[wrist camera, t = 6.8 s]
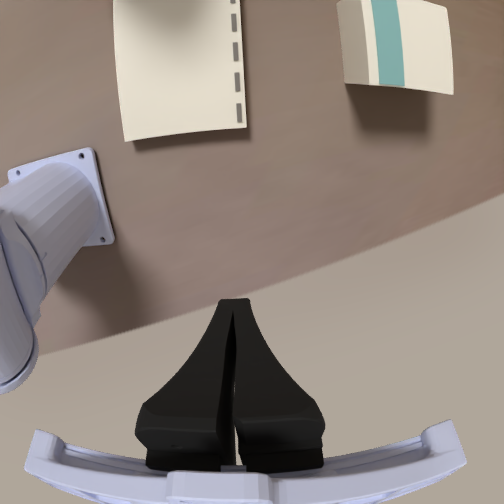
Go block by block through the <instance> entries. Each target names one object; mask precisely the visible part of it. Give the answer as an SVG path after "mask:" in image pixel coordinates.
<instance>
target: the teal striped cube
mask: <svg viewBox="0 0 504 504" xmlns="http://www.w3.org/2000/svg"><path fill="white" fill-rule="evenodd" d="M336 6H337V13H338V20H339V28H340V37H341V47H342V57H343V69H344V83H350V84H364V85H379V86H391V87H401V88H410V89H418V90H426V91H432V92H439V93H445V94H450V95H453V64H452V50H451V39H450V30H449V22H448V15H447V9H446V8H445V7H442V6H439V5H436V4H433V3H429V2H426V1H422V0H341V1H339V2H338V3H337V4H336Z"/></svg>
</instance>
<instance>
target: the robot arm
mask: <svg viewBox="0 0 504 504" xmlns="http://www.w3.org/2000/svg"><path fill="white" fill-rule="evenodd" d="M81 153H83V154H84V158H82V157H81ZM19 171H20V173H19ZM8 178H9V183H8V184H6V185H5V186H3V187H2V188H0V395H1V394H4V393H8V392H10V391H12V390H14V389H16V388H17V387H18V386H20V385H21V384H22V383H23V382H24V381H25V380H26V379H27V378H28V377H29V375H30V374H31V372H32V370H33V369H34V367H35V364H36V361H37V358H38V352H39V345H38V339H37V336H36V334H35V331H34V329H33V328H34V326H35V325H36V323H37V321H38V320H39V318H40V316H41V313H40V305H41V303H42V301H43V300H44V298H45V297H46V295H47V294H48V292H49V291H50V289H51V288H52V286H53V285H54V284H55V282H56V281H57V279H58V278H59V277H60V275H61V274H62V272H63V271H64V270H65V268H66V267H67V265H68V264H69V263H70V261H71V260H72V259H73V257H74V256H75V255H76V254H77V252H78V251H79V250H80V248H81V247H83V246H96V245H109V244H112V243H113V242H114V240H115V237H114V233H113V229H112V226H111V222H110V218H109V215H108V211H107V207H106V203H105V199H104V195H103V190H102V186H101V182H100V177H99V172H98V168H97V163H96V158H95V153H94V150H93V149H92V148H90V147H88V148H83V149H79V150H75V151H71V152H67V153H63V154H59V155H55V156H52V157H48V158H45V159H41V160H38V161H34V162H31V163H28V164H25V165H22V166H18V167H15V168H12V169H10V170H9V171H8ZM102 237H104V238H105V240H103V239H102ZM234 387H235V392H234ZM235 427H236V431H237V436H238V453H239V455H240V458H241V461H242V464H243V465H236V450H235ZM324 430H325V421H324V418H323V416H322V413H321V411H320V409H319V407H318V406H317V404H316V402H315V400H314V399H313V398H311V397H310V396H309V395H308V394H307V393H306V392H305V391H304V390H303V389H302V388H301V387H300V386H299V385H298V384H297V383H296V382H295V381H294V380H293V379H292V378H291V377H290V375H289V374H288V373H287V372H286V371H285V370H284V368H283V367H282V366H281V364H280V363H279V362H278V360H277V359H276V357H275V356H274V355H273V353H272V352H271V350H270V348H269V347H268V345H267V343H266V341H265V340H264V338H263V336H262V334H261V332H260V330H259V328H258V325H257V323H256V321H255V318H254V315H253V312H252V309H251V304H250V300H249V299H248V298H241V299H221V300H220V301H219V302H218V305H217V308H216V311H215V313H214V315H213V318H212V320H211V322H210V324H209V326H208V328H207V330H206V332H205V333H204V335H203V337H202V339H201V340H200V342H199V344H198V345H197V347H196V348H195V350H194V351H193V353H192V354H191V356H190V357H189V358H188V360H187V361H186V362H185V364H184V365H183V366H182V367H181V368H180V370H179V371H178V372H177V373H176V374H175V375H174V376H173V377H172V378H171V379H170V381H168V382H167V383H166V384H165V385H164V386H163V387H162V388H161V389H160V390H159V391H158V392H157V393H156V394H154V395H153V396H152V397H151V398H149V399H148V400H147V401H146V402H144V403H143V405H142V407H141V410H140V413H139V415H138V418H137V423H136V428H135V436H136V437H137V439H138V440H139V441H140V442H141V443H142V444H143V445H144V446H145V447H146V448H147V456H146V460H144V459H136V458H131V457H125V456H119V455H114V454H109V453H104V452H100V451H95V450H91V449H87V448H82V447H79V446H75V445H71V444H68V443H64V441H63V440H62V439H60V438H59V437H57V436H56V435H54V434H51V433H48V432H45V431H42V430H39V429H36V431H35V433H34V436H33V439H32V443H31V446H30V449H29V452H28V456H27V459H26V463H25V467H24V470H25V471H27V472H28V473H30V474H32V475H33V476H35V477H37V478H38V479H40V480H42V481H43V482H45V483H47V484H49V485H51V486H52V487H55V488H57V489H60V490H62V491H65V492H68V493H71V494H74V495H76V496H79V497H82V498H85V499H88V500H91V501H94V502H97V503H100V504H378V503H381V502H384V501H388V500H391V499H394V498H396V497H399V496H402V495H405V494H407V493H410V492H413V491H416V490H418V489H421V488H423V487H426V486H428V485H431V484H433V483H436V482H438V481H440V480H442V479H444V478H445V477H447V476H449V475H450V474H452V473H453V472H455V471H456V470H458V469H459V468H461V467H462V466H464V465H465V464H466V463H467V461H466V457H465V455H464V452H463V449H462V446H461V443H460V441H459V438H458V435H457V433H456V430H455V427H454V425H453V422H452V420H451V419H449V420H446V421H444V422H441V423H438V424H435V425H433V426H431V427H428V428H427V429H425V430H424V431H423V432H422V434H421V435H419V436H416V437H413V438H410V439H407V440H403V441H400V442H397V443H393V444H389V445H386V446H382V447H378V448H374V449H370V450H365V451H361V452H356V453H351V454H346V455H341V456H335V457H329V458H323V453H322V447H323V444H322V439H321V437H322V435H323V432H324Z"/></svg>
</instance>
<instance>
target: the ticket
mask: <svg viewBox="0 0 504 504" xmlns="http://www.w3.org/2000/svg"><path fill="white" fill-rule="evenodd" d="M113 21H114V44H115V60H116V72H117V83H118V93H119V101H120V110H121V117H122V125H123V132H124V138H125V142H127V141H132V140H138V139H144V138H151V137H157V136H164V135H172V134H180V133H188V132H197V131H208V130H219V129H232V128H247V125H246V107H245V89H244V70H243V52H242V34H241V16H240V0H113Z"/></svg>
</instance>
